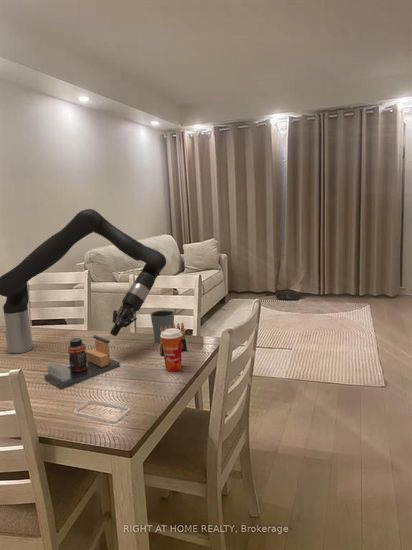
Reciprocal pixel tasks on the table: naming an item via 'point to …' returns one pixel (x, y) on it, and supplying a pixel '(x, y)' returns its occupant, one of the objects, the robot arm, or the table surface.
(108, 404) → the phone case
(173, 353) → the paper cup
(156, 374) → the table surface
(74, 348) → the supplement bottle
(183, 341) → the ammunition clip
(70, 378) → the base
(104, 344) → the sliding jaw
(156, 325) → the green embossed pot
